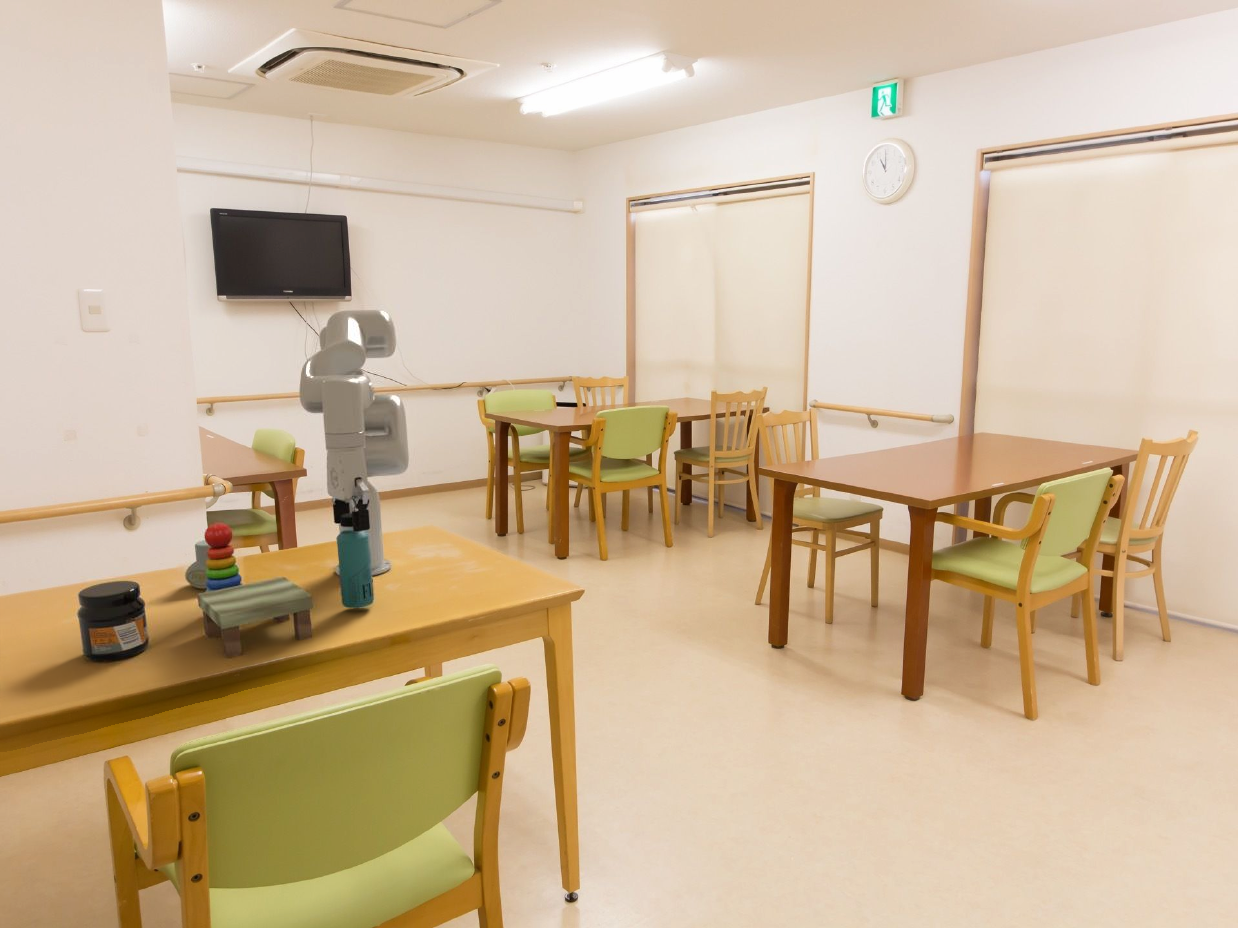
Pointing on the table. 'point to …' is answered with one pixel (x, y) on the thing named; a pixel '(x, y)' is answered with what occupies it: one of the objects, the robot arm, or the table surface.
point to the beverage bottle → (354, 566)
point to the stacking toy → (220, 559)
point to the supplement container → (112, 621)
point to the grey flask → (199, 566)
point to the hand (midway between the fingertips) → (351, 526)
